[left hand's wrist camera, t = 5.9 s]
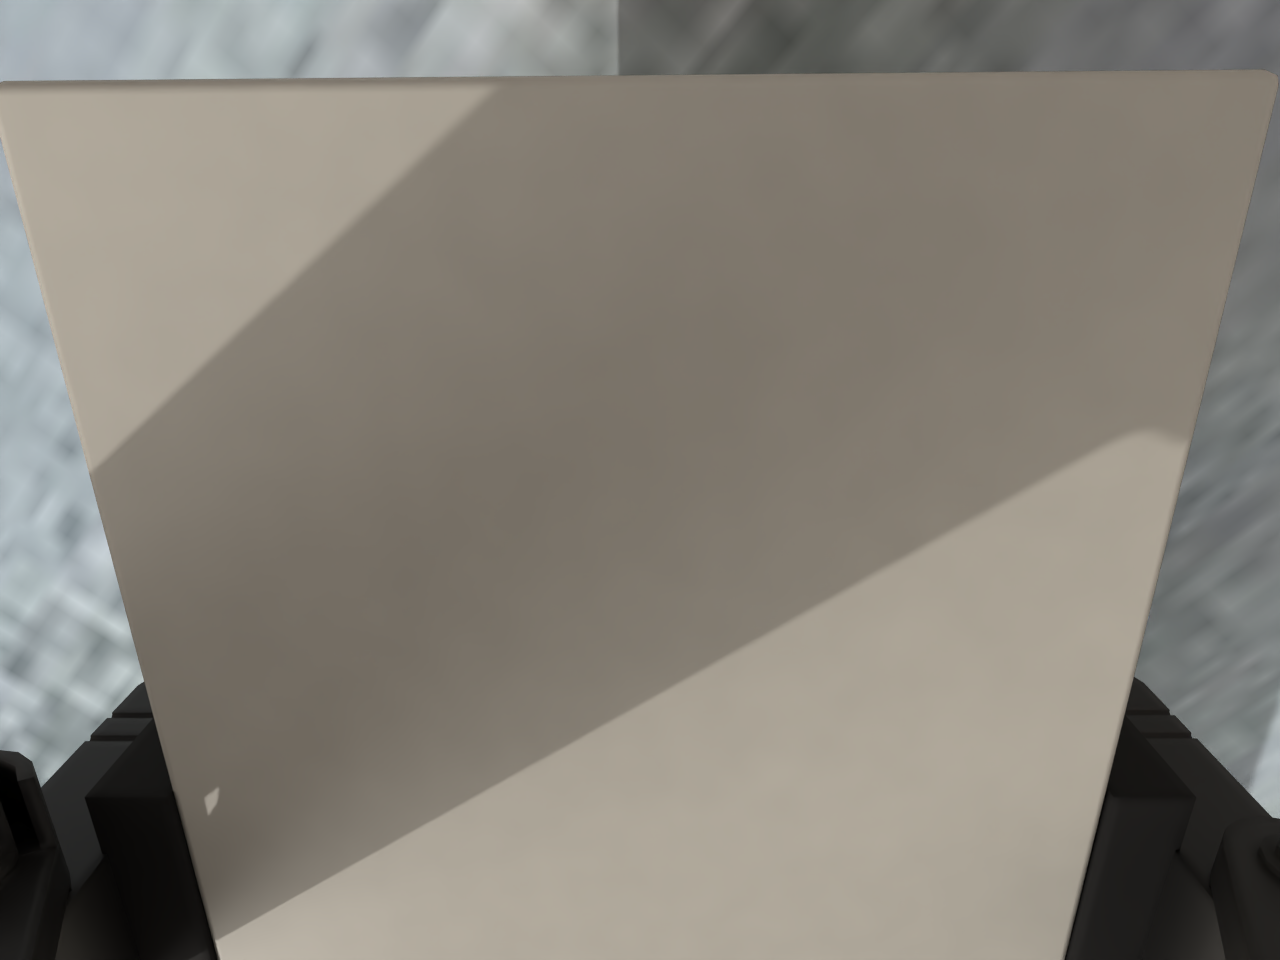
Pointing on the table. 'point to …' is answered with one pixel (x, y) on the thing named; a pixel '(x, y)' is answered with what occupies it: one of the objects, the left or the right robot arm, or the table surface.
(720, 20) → the table surface
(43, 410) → the table surface
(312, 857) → the wide beam
